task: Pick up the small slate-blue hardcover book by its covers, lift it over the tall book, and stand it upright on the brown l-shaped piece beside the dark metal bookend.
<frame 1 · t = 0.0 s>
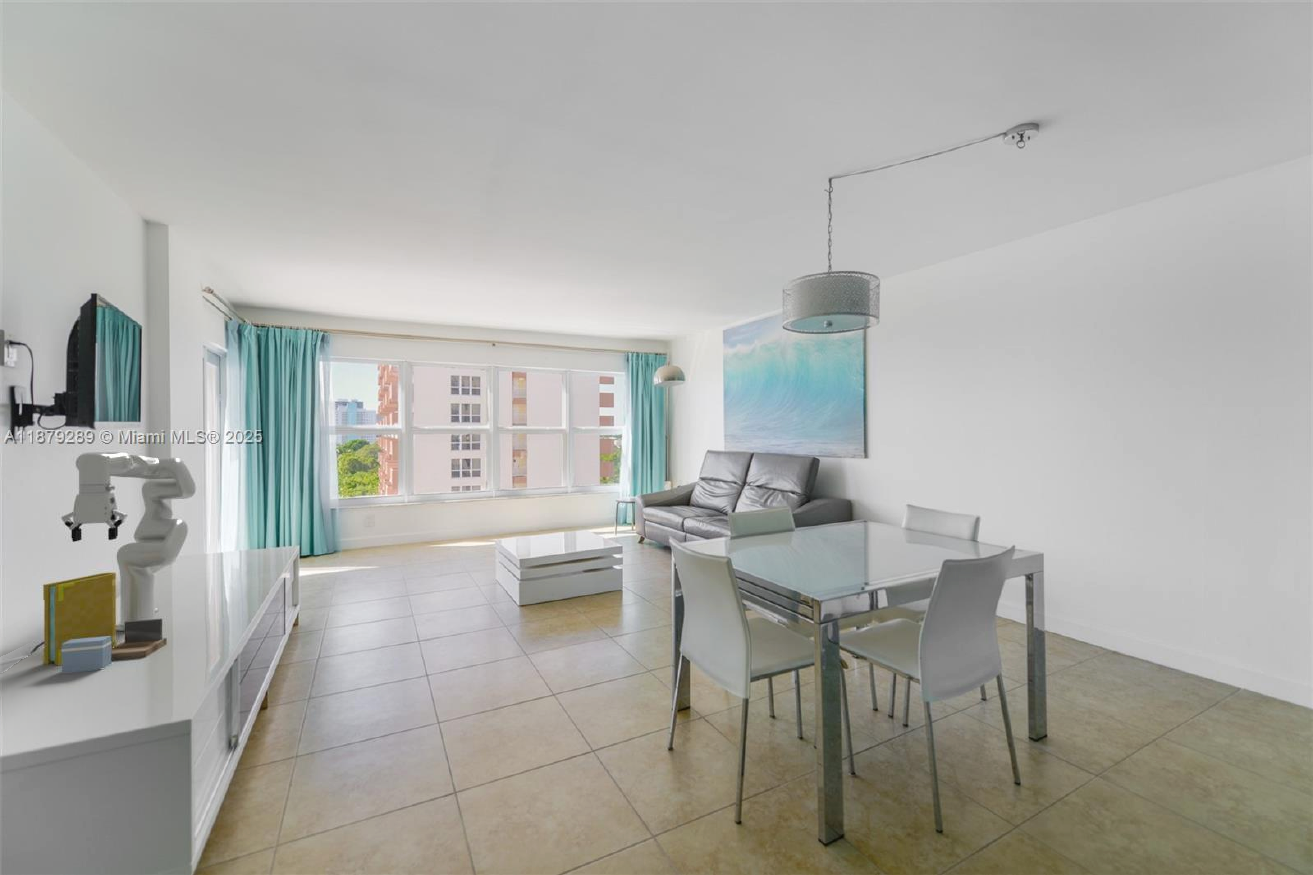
hand: (94, 540, 188), 37 cm above the table, tool pointing down, fingers open, 9 cm apart
book: (83, 655, 183), on the table
brown l-shaped piece: (134, 652, 184), on the table
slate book: (87, 668, 171), on the table
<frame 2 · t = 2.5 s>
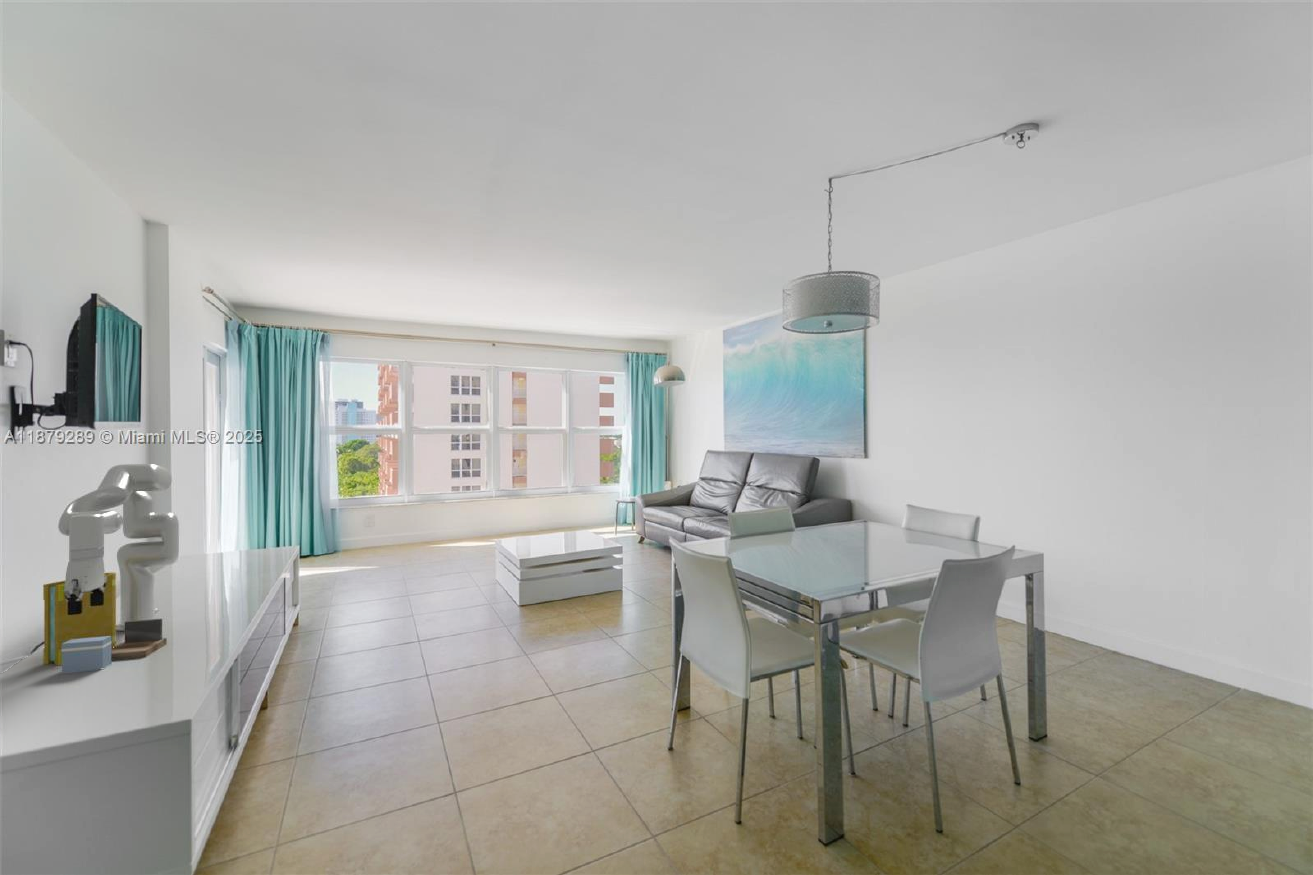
hand: (86, 609, 171), 18 cm above the table, tool pointing down, fingers open, 9 cm apart
nothing on the table moved.
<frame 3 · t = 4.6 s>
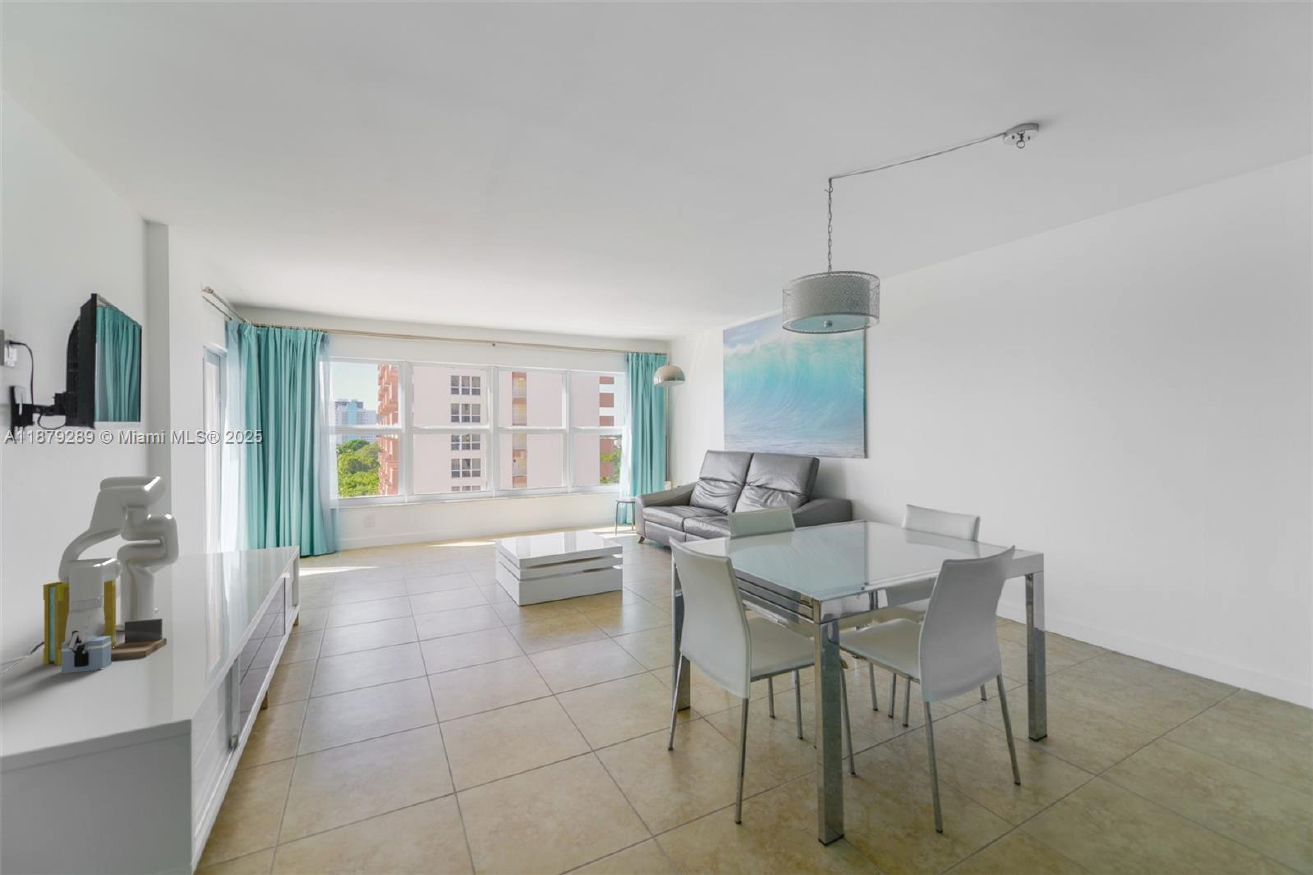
hand: (86, 662, 171), 2 cm above the table, tool pointing down, fingers closed on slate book, 4 cm apart
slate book: (86, 668, 171), on the table, touching gripper
everything else where it was.
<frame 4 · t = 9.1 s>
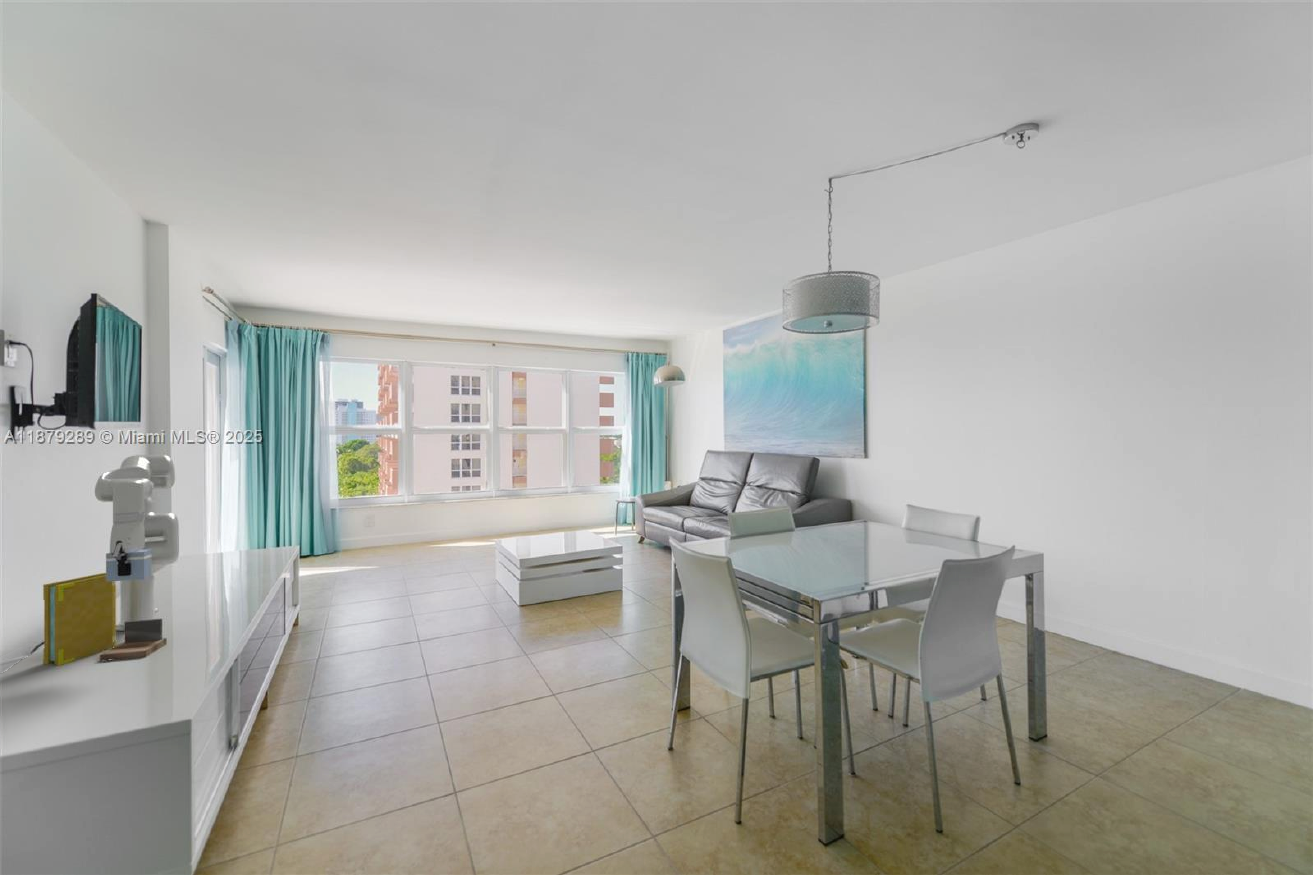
hand: (128, 573, 182), 27 cm above the table, tool pointing down, fingers closed on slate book, 4 cm apart
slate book: (129, 579, 182), point 25 cm above the table, touching gripper
everything else where it was.
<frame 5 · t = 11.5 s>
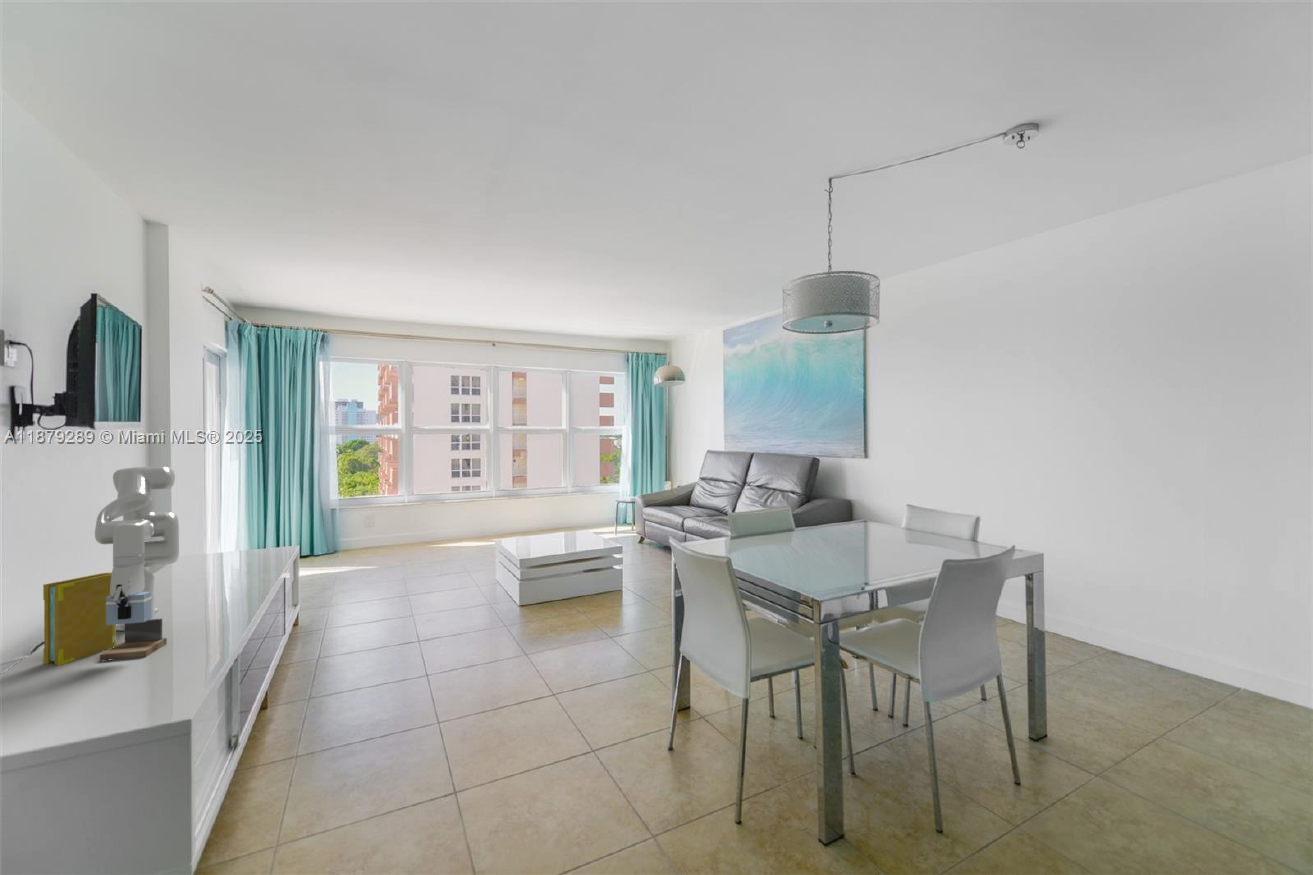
hand: (128, 616, 181), 13 cm above the table, tool pointing down, fingers closed on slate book, 4 cm apart
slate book: (129, 621, 181), point 11 cm above the table, touching gripper
everything else where it was.
when the fingers open (5 cm above the table, at t = 13.4 s): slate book drops 1 cm, resting on brown l-shaped piece.
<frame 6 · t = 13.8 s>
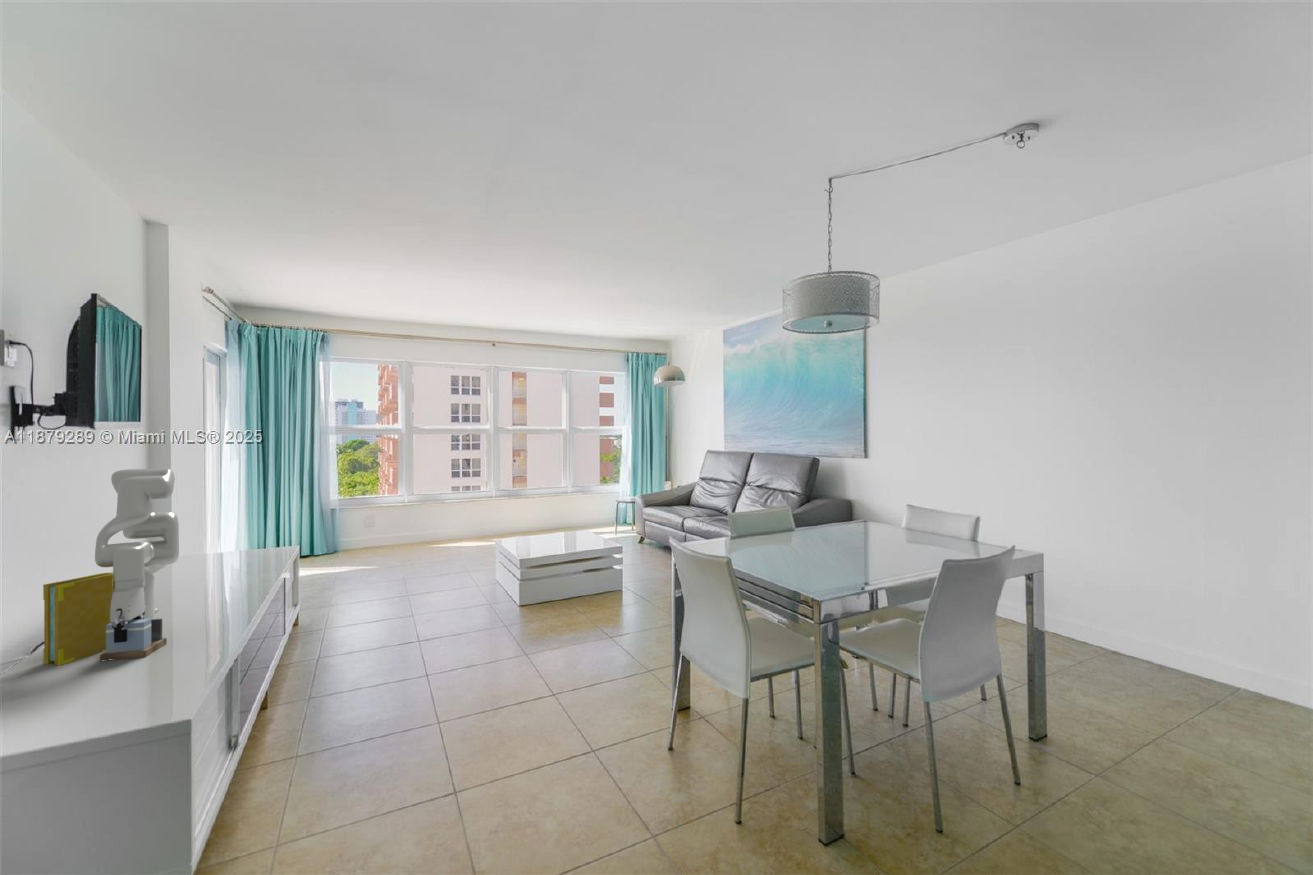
hand: (129, 637, 182), 6 cm above the table, tool pointing down, fingers open, 8 cm apart
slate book: (129, 649, 182), point 2 cm above the table, touching brown l-shaped piece
everything else where it was.
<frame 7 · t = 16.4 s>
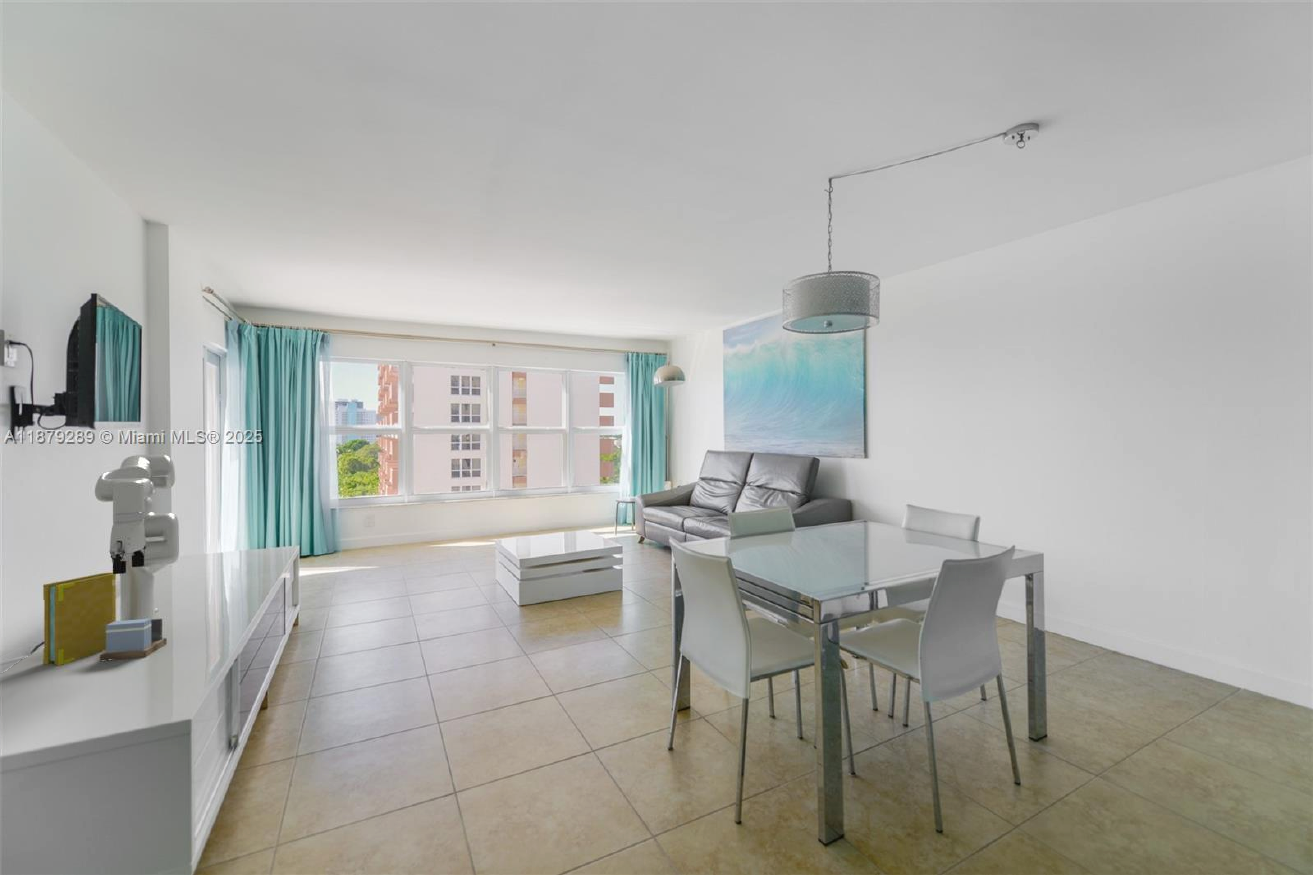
hand: (129, 570, 182), 28 cm above the table, tool pointing down, fingers open, 9 cm apart
nothing on the table moved.
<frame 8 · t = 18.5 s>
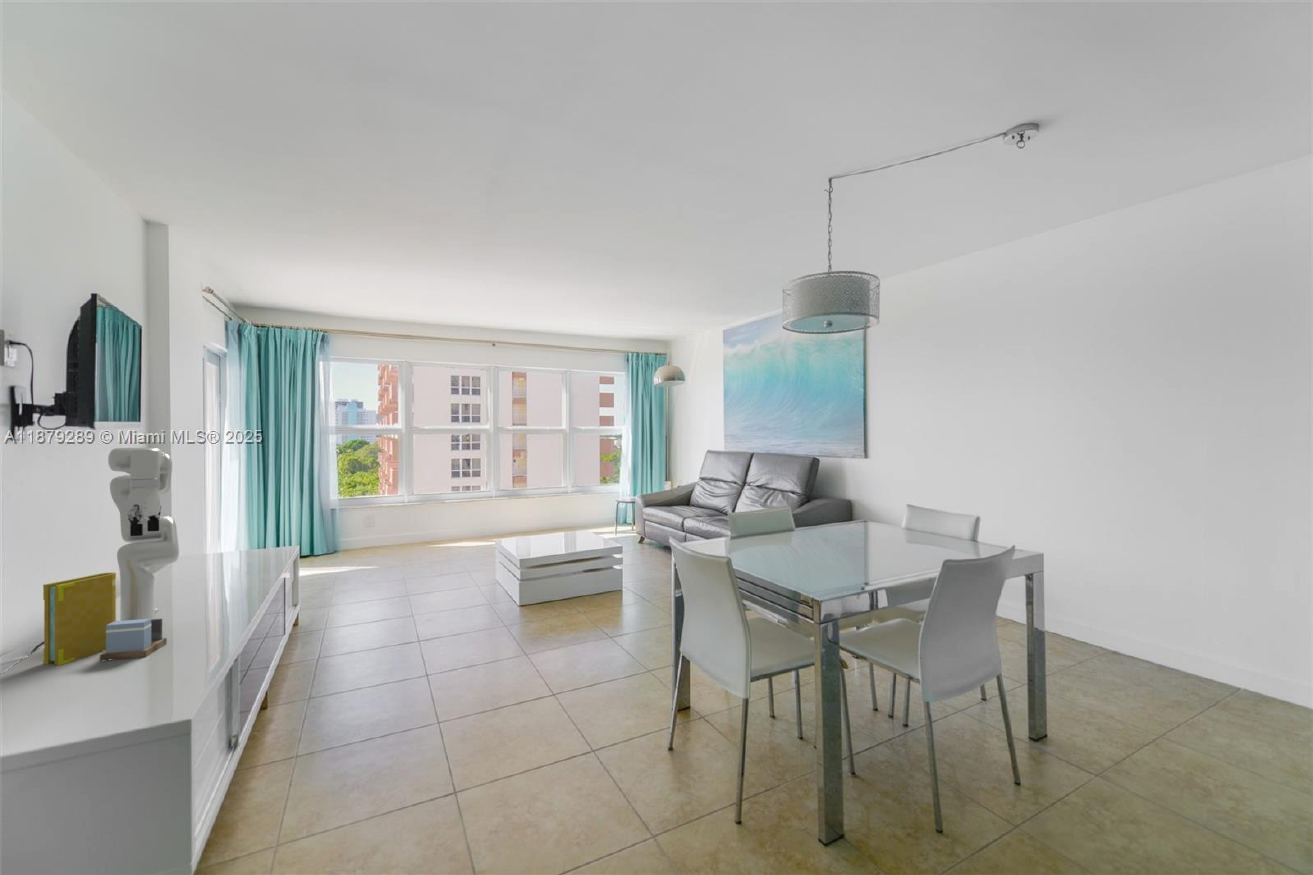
hand: (145, 533, 192), 38 cm above the table, tool pointing down, fingers open, 9 cm apart
nothing on the table moved.
at the end: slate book 0.1 cm from the target spot on the brown l-shaped piece, point 2.0 cm above the brown l-shaped piece's base; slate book tilted 0°; the gripper is holding nothing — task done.
